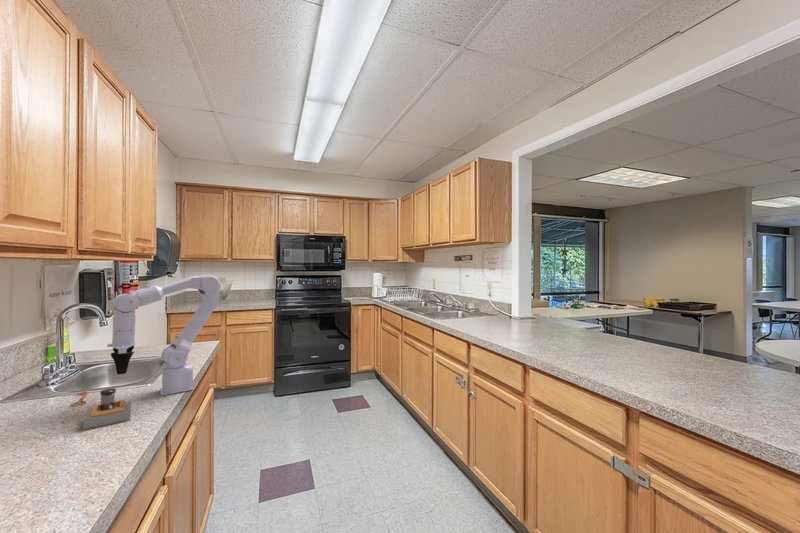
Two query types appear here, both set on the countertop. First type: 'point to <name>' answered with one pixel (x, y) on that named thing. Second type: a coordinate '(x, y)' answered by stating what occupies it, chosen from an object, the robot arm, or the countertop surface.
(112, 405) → the peg
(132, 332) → the robot arm
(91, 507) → the countertop surface
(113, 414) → the chuck block
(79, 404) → the key
